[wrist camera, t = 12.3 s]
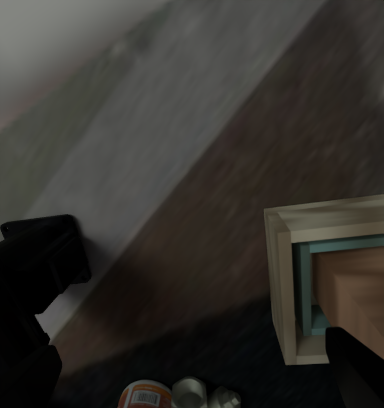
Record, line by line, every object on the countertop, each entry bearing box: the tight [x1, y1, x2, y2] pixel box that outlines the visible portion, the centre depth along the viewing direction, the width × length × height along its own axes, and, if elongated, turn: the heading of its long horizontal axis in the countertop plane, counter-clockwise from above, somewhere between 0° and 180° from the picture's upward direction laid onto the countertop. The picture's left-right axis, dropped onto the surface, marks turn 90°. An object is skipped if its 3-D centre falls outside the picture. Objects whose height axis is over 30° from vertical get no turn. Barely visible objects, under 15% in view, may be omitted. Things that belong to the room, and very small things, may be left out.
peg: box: [312, 246, 384, 359], centre depth 16 cm, size 4×4×9 cm
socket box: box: [264, 194, 384, 365], centre depth 19 cm, size 11×11×4 cm
